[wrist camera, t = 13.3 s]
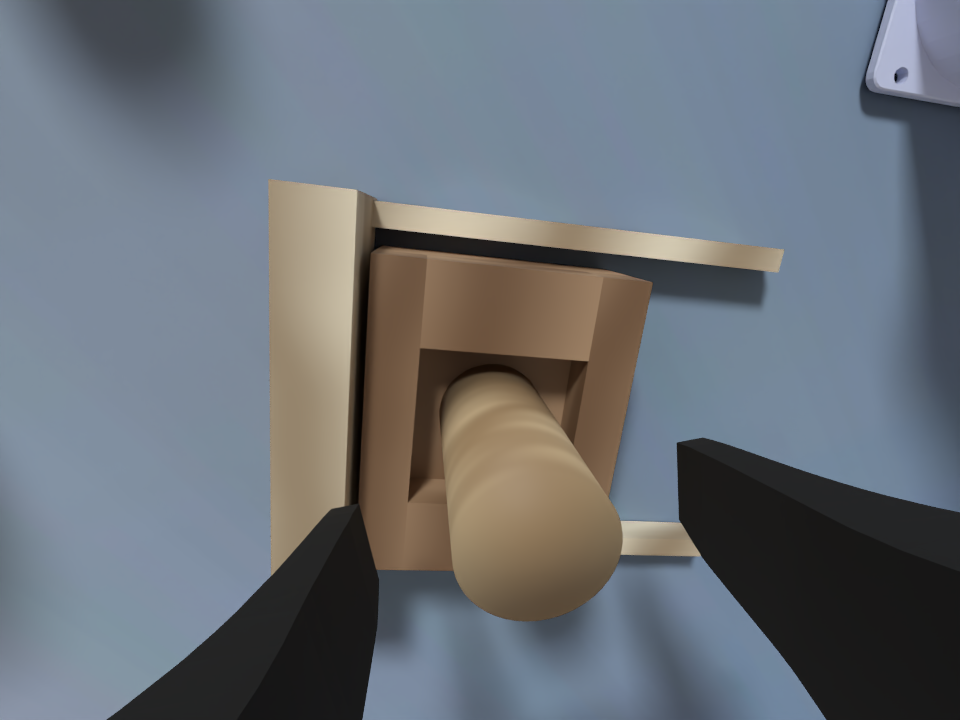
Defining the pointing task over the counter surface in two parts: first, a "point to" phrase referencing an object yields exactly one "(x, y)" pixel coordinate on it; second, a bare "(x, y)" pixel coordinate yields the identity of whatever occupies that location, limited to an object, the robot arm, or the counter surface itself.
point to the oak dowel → (521, 501)
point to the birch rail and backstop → (343, 331)
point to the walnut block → (472, 342)
